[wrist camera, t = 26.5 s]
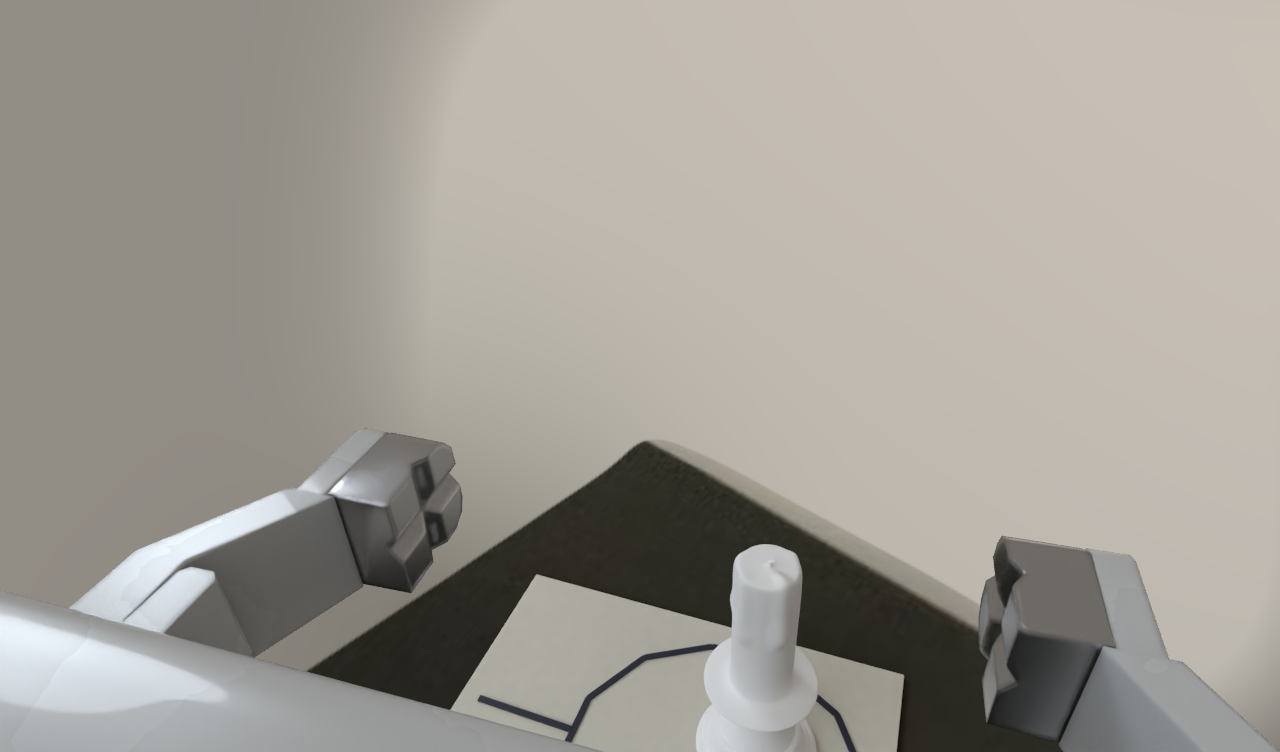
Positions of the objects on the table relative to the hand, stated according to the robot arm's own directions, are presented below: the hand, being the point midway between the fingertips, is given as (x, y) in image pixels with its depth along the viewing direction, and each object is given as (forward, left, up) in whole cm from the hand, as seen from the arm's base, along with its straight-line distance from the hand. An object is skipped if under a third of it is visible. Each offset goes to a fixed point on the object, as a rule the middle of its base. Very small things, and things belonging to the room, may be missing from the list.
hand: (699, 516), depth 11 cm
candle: (-1, +12, -25) cm, 28 cm away
